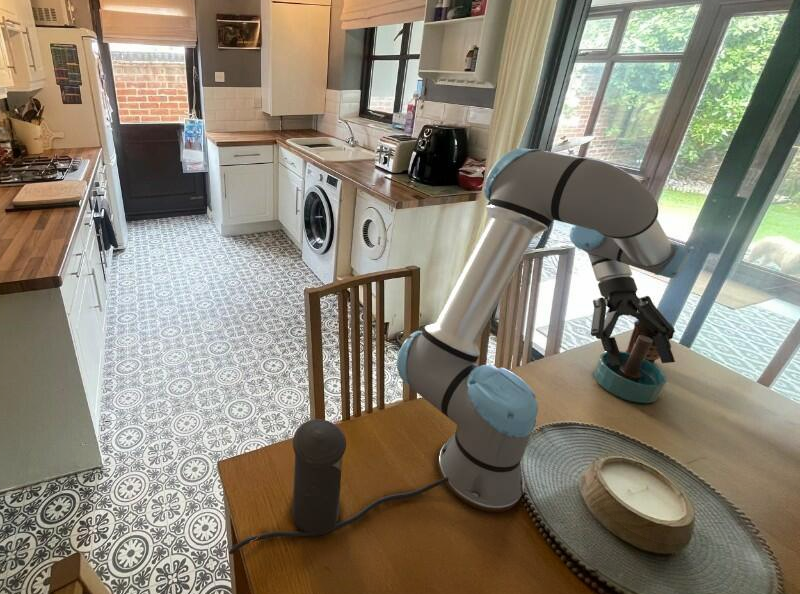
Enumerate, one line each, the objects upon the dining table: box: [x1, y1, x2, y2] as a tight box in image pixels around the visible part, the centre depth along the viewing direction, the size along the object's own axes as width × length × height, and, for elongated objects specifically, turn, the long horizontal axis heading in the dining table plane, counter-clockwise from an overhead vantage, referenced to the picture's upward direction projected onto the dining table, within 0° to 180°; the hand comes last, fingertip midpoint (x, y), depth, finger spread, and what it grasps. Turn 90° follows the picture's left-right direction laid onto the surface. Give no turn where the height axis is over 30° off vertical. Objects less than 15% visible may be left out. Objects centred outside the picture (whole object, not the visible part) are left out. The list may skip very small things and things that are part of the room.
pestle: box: [617, 335, 653, 383], centre depth 101 cm, size 4×4×14 cm
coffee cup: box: [625, 319, 676, 365], centre depth 110 cm, size 9×8×13 cm
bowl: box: [593, 350, 668, 404], centre depth 103 cm, size 13×13×6 cm
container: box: [291, 418, 347, 537], centre depth 70 cm, size 9×9×20 cm
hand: (643, 364), depth 99 cm, fingers open, 13 cm apart
